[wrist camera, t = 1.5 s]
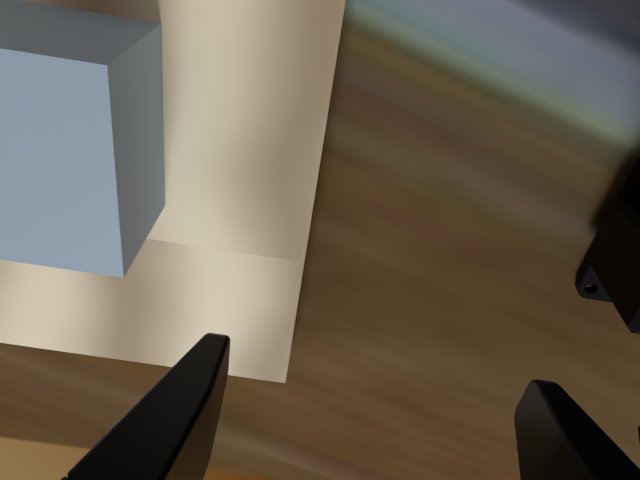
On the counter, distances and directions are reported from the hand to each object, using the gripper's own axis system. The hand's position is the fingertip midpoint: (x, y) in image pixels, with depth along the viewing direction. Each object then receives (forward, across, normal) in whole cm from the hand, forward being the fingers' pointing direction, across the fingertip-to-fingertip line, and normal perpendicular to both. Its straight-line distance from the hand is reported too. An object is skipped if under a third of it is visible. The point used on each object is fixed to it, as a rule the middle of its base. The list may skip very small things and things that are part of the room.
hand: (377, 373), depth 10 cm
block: (+9, +10, 0) cm, 13 cm away
